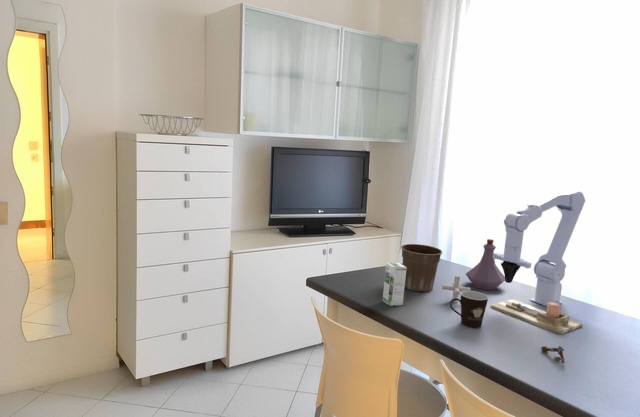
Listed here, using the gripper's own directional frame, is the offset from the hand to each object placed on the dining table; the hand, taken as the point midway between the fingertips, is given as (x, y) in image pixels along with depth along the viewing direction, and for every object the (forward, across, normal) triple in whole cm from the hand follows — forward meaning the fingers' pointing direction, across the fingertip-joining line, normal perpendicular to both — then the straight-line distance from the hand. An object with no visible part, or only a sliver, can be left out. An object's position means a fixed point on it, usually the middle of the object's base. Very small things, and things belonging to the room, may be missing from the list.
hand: (508, 282), depth 173 cm
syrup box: (+10, -21, -37) cm, 44 cm away
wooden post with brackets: (+10, +32, -24) cm, 41 cm away
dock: (+9, +11, +1) cm, 15 cm away
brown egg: (+8, +18, 0) cm, 20 cm away
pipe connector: (+10, -12, -14) cm, 21 cm away
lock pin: (+8, +11, 0) cm, 13 cm away
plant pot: (+10, -30, -15) cm, 35 cm away
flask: (+10, -19, +13) cm, 25 cm away
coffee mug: (+10, +4, -27) cm, 29 cm away
